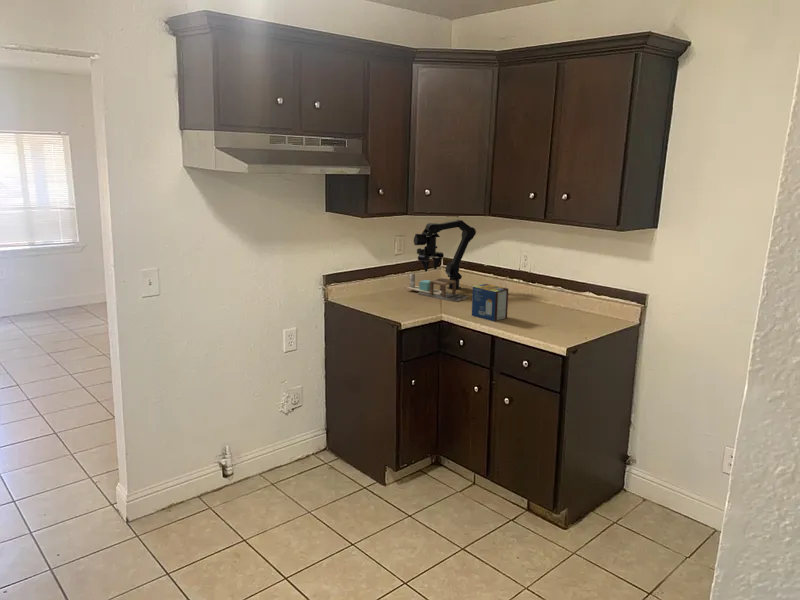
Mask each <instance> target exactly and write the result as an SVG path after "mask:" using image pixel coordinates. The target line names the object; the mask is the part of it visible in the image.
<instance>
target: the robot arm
mask: <svg viewBox="0 0 800 600" xmlns="http://www.w3.org/2000/svg"><path fill="white" fill-rule="evenodd" d="M455 228H458V229H460V230H461V240H460V242H459V244H458V247H457V250H456V251H455V254H454V255H453V258H452V260H451V261H450V262H447V264H446V266H445V267H444V269H445V270H444V271H445V274H446V275H447V277H448V278H449V279H450V280H456V290H459V289H462V286H460V280H462V274H460V272H459V271H460V263H461V261H462V258H463V257H464V254H465V252H466V249H467V247H468V245H469V243H470V242H471V241H472V240H473V239H474V237H475V236H476V233H477V230H476V228H474V227H472V226H471V225H468V223H465V222H464V220H461V219H456V220H450V221H445V222H441V223H439V222H438V223H437V222H429V223H427V224H426V226H425V227H424V230H423V231H422V232H421V233H415V234H414V237H413V245H414V246H424V248H421V247H420V248H417V249H416V254H417V255H418V256H417V260H418V261H419V262H420V263H422V266H423V268H424V272H426V273H427V271H428V270H429V265H430V259H432V260H433V270H437V268H438V266H439V264H440V262H441V261H442V260H443V258H444V256H445V255H444V252H442V251H437V249H438V245H437V238H440V235H439V234H438V233H439V232H441V231H444V230H450V229H455ZM452 284H453V283H452ZM452 284H448V286H447V287H446V289H450V290H452Z"/></svg>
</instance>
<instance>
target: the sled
mask: <svg viewBox="0 0 800 600" xmlns="http://www.w3.org/2000/svg"><path fill="white" fill-rule="evenodd" d="M406 290H411V291H415V292H426V293H430V291H423V290H419V285H416V274H415V273H410V274H409V286H408V287H406ZM446 293H447V291H446ZM433 294H436V295H441V294H442V291H441V290H440V289H434V288H433Z"/></svg>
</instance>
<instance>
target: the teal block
mask: <svg viewBox="0 0 800 600" xmlns="http://www.w3.org/2000/svg"><path fill="white" fill-rule="evenodd" d="M430 281H431V280H429V279H423V280H420V281H419V283H418V284H419V285H418V286H419V290H423V291H430Z"/></svg>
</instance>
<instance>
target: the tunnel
mask: <svg viewBox="0 0 800 600" xmlns="http://www.w3.org/2000/svg"><path fill="white" fill-rule="evenodd" d="M429 281H430V293H426V292H420V291H418V292H417V295H418V296H419V295H421V296H424V297H430V298H435V299H439V300H445V301H450V302H460V301H463V300H467V299H469V296H468V295H463V294H457V289H456V280H450V278H449V279H448V278H443V277H442V278H438V279H433V280H429ZM452 283H453V284H452ZM449 284H452V289H451V292H447V291H446V289H447V287H446V286H449ZM434 285H437V286H438V285H439V286H440V289H439V290H441V291H442V294H441V295H436V294H433V289H434V288H435V286H434ZM446 292H447V293H446Z"/></svg>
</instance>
